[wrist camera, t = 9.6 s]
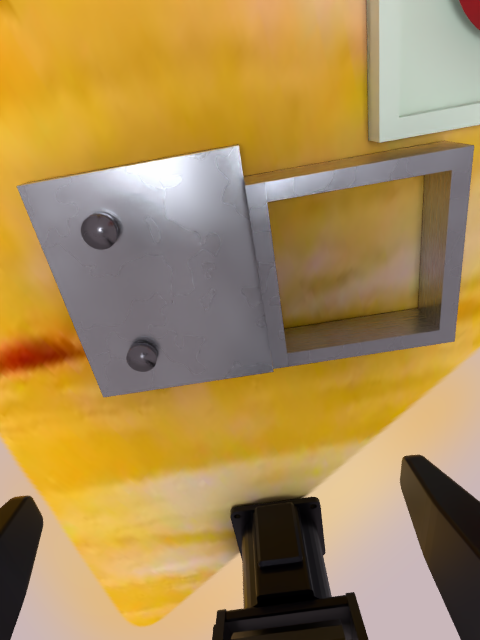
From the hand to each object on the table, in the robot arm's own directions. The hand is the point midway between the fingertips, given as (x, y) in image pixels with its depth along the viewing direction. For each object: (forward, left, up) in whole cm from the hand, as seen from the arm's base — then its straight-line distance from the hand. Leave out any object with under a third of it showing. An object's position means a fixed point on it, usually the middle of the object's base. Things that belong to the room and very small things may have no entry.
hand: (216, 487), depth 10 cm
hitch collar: (0, -1, -13) cm, 13 cm away
